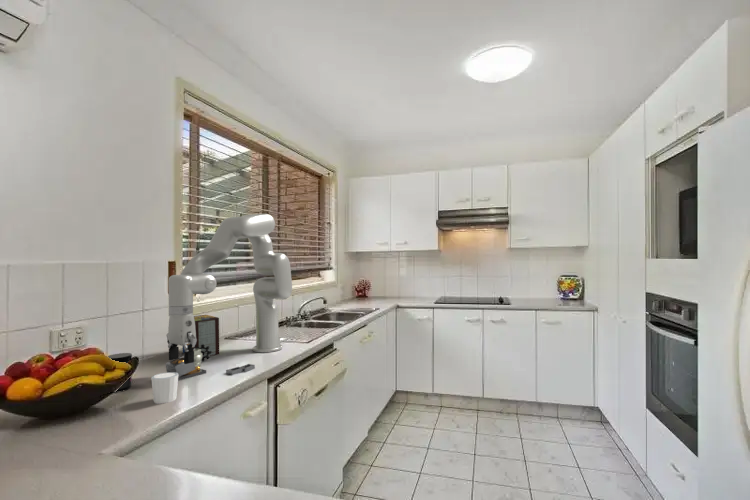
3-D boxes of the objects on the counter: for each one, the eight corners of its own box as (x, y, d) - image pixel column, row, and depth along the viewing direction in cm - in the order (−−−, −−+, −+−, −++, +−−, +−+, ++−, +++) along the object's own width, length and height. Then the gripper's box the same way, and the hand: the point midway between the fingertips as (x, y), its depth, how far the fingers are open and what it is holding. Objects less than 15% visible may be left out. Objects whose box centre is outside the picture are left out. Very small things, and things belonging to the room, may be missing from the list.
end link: (185, 366, 138) (183, 355, 137) (195, 369, 134) (193, 358, 134) (167, 374, 133) (165, 363, 132) (177, 377, 129) (175, 366, 128)
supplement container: (133, 389, 121) (133, 355, 121) (106, 394, 116) (106, 359, 117) (130, 384, 126) (130, 351, 126) (105, 388, 122) (105, 355, 122)
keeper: (195, 370, 141) (195, 354, 141) (206, 373, 137) (206, 357, 137) (164, 378, 132) (164, 361, 132) (175, 381, 128) (175, 364, 128)
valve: (203, 368, 143) (211, 360, 155) (203, 350, 143) (211, 343, 155) (184, 369, 142) (194, 361, 154) (184, 351, 142) (194, 344, 154)
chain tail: (249, 366, 144) (249, 363, 144) (257, 368, 142) (257, 365, 142) (226, 373, 136) (226, 370, 136) (233, 375, 134) (233, 371, 134)
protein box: (206, 348, 176) (206, 314, 176) (219, 354, 164) (219, 317, 165) (181, 352, 169) (181, 316, 169) (193, 359, 157) (193, 320, 158)
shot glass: (184, 397, 113) (184, 372, 113) (164, 405, 107) (164, 379, 107) (165, 394, 115) (165, 370, 116) (145, 402, 109) (145, 377, 109)
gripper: (205, 311, 132) (205, 362, 131) (178, 308, 142) (178, 355, 141) (183, 313, 126) (184, 367, 125) (157, 310, 136) (157, 360, 135)
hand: (181, 361), depth 133 cm, fingers open, 9 cm apart
